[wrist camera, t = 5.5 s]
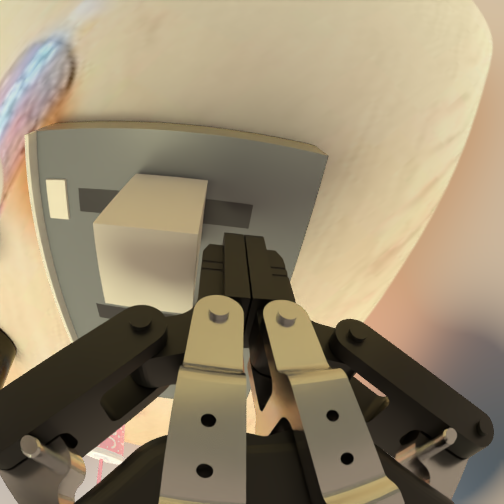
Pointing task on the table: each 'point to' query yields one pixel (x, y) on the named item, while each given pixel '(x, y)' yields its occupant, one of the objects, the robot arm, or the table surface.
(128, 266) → the slider
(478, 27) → the table surface
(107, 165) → the console
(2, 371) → the supplement bottle
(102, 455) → the beverage cup
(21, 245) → the table surface
